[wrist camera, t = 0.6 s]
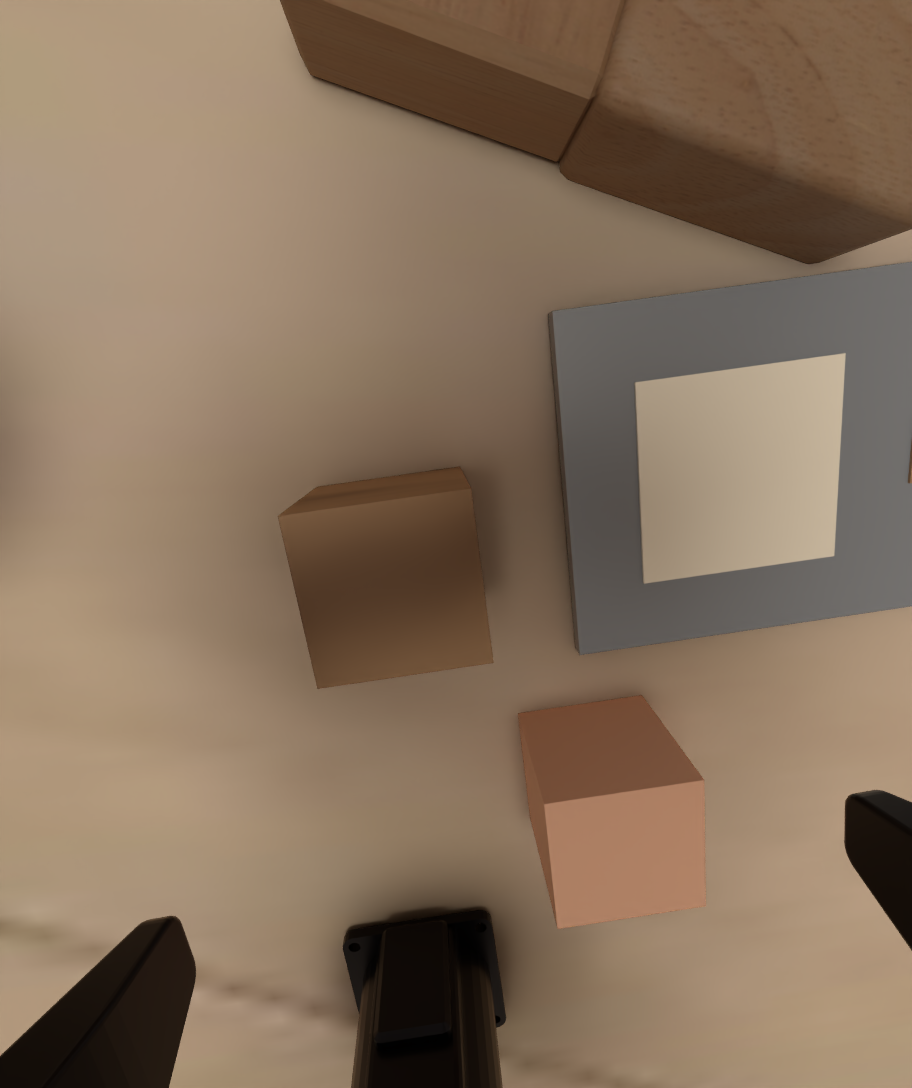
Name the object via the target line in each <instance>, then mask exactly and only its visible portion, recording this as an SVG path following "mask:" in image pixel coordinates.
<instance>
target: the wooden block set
mask: <svg viewBox="0 0 912 1088" xmlns="http://www.w3.org/2000/svg"><path fill="white" fill-rule="evenodd" d="M280 2H281V5H282V7H283V10H284V13H285V15H286V18H287V21H288V23H289V26H290V29H291V31H292V34H293V37H294V39H295V42H296V45H297V47H298V50H299V53H300V55H301V57H302V59H303V61H304V63H305V65H306V67H307V69H308V71H309V72H310V74H311V75H313V76H316V77H318V78H321V79H324V80H327V81H330V82H333V83H335V84H338V85H341V86H344V87H347V88H350V89H352V90H355V91H358V92H361V93H364V94H366V95H369V96H372V97H375V98H378V99H381V100H383V101H386V102H389V103H392V104H395V105H398V106H400V107H403V108H406V109H409V110H412V111H415V112H417V113H420V114H423V115H426V116H429V117H431V118H434V119H437V120H440V121H443V122H446V123H448V124H451V125H454V126H457V127H460V128H463V129H465V130H468V131H471V132H474V133H477V134H479V135H482V136H485V137H488V138H491V139H494V140H496V141H499V142H502V143H505V144H508V145H511V146H513V147H516V148H519V149H522V150H525V151H527V152H530V153H533V154H536V155H539V156H542V157H544V158H547V159H550V160H553V161H556V162H557V161H559V163H560V172H561V173H562V174H563V175H564V176H565V177H566V178H567V179H568V180H571V181H574V182H576V183H579V184H582V185H585V186H588V187H591V188H594V189H596V190H599V191H602V192H605V193H608V194H611V195H614V196H616V197H619V198H622V199H625V200H628V201H631V202H633V203H636V204H639V205H642V206H645V207H648V208H651V209H653V210H656V211H659V212H662V213H665V214H668V215H671V216H673V217H676V218H679V219H682V220H685V221H688V222H690V223H693V224H696V225H699V226H702V227H705V228H708V229H710V230H713V231H716V232H719V233H722V234H725V235H728V236H730V237H733V238H736V239H739V240H742V241H745V242H747V243H750V244H753V245H756V246H759V247H762V248H765V249H767V250H770V251H773V252H776V253H779V254H782V255H785V256H787V257H790V258H793V259H796V260H799V261H802V262H804V263H807V264H811V263H819V262H822V261H825V260H827V259H830V258H833V257H836V256H838V255H841V254H844V253H847V252H850V251H852V250H855V249H858V248H861V247H863V246H866V245H869V244H872V243H874V242H877V241H880V240H883V239H886V238H888V237H891V236H894V235H897V234H899V233H902V232H905V231H908V230H910V229H912V0H280Z"/></svg>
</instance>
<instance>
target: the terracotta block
mask: <svg viewBox="0 0 912 1088" xmlns="http://www.w3.org/2000/svg"><path fill="white" fill-rule="evenodd" d="M518 719H519V728H520V736H521V745H522V753H523V762H524V770H525V779H526V787H527V796H528V804H529V813H530V819H531V823H532V827H533V831H534V835H535V839H536V843H537V847H538V851H539V855H540V859H541V864H542V868H543V872H544V876H545V880H546V884H547V888H548V892H549V896H550V900H551V904H552V908H553V912H554V916H555V920H556V924H557V928H558V929H561V928H567V927H574V926H580V925H587V924H593V923H600V922H606V921H613V920H619V919H626V918H632V917H639V916H645V915H652V914H658V913H665V912H671V911H678V910H684V909H691V908H697V907H704V906H706V880H705V800H704V779H703V778H702V776H701V775H700V774H699V772H698V771H697V770H696V768H695V767H694V765H693V764H692V763H691V761H690V760H689V759H688V757H687V756H686V755H685V753H684V752H683V751H682V749H681V748H680V746H679V745H678V744H677V742H676V741H675V740H674V738H673V737H672V736H671V734H670V733H669V731H668V730H667V729H666V727H665V726H664V725H663V723H662V722H661V721H660V719H659V718H658V717H657V715H656V714H655V712H654V711H653V710H652V708H651V707H650V706H649V704H648V703H647V702H646V700H645V699H644V697H643V696H642V695H639V696H632V697H625V698H618V699H612V700H605V701H598V702H591V703H585V704H578V705H571V706H564V707H558V708H551V709H544V710H537V711H531V712H524V713H518Z"/></svg>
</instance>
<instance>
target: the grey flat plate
mask: <svg viewBox="0 0 912 1088" xmlns="http://www.w3.org/2000/svg"><path fill="white" fill-rule="evenodd" d="M548 318H549V330H550V343H551V355H552V367H553V379H554V391H555V403H556V416H557V428H558V440H559V452H560V464H561V477H562V489H563V501H564V513H565V525H566V538H567V550H568V562H569V574H570V586H571V599H572V611H573V623H574V635H575V647H576V649H577V651H578V653H579V654H580V655H584V654H591V653H597V652H604V651H611V650H618V649H625V648H631V647H638V646H645V645H652V644H659V643H665V642H672V641H679V640H686V639H693V638H699V637H706V636H713V635H720V634H727V633H733V632H740V631H747V630H754V629H761V628H768V627H774V626H781V625H788V624H795V623H802V622H808V621H815V620H822V619H829V618H836V617H842V616H849V615H856V614H863V613H870V612H876V611H883V610H890V609H897V608H904V607H910V606H912V262H907V263H900V264H893V265H885V266H878V267H871V268H864V269H856V270H849V271H842V272H834V273H827V274H820V275H813V276H805V277H798V278H791V279H783V280H776V281H769V282H761V283H754V284H747V285H740V286H732V287H725V288H718V289H710V290H703V291H696V292H688V293H681V294H674V295H667V296H659V297H652V298H645V299H637V300H630V301H623V302H616V303H608V304H601V305H594V306H586V307H579V308H572V309H564V310H557V311H552V312H551V313H549V314H548Z"/></svg>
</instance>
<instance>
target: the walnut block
mask: <svg viewBox="0 0 912 1088" xmlns="http://www.w3.org/2000/svg"><path fill="white" fill-rule="evenodd" d="M278 519H279V523H280V528H281V532H282V537H283V541H284V545H285V550H286V554H287V558H288V563H289V567H290V571H291V576H292V580H293V584H294V589H295V593H296V597H297V602H298V606H299V610H300V615H301V619H302V623H303V628H304V632H305V637H306V641H307V645H308V650H309V654H310V658H311V663H312V667H313V671H314V676H315V680H316V684H317V689H320V688H327V687H333V686H340V685H347V684H354V683H360V682H367V681H374V680H381V679H387V678H394V677H401V676H408V675H414V674H421V673H428V672H435V671H441V670H448V669H455V668H462V667H468V666H475V665H482V664H489V663H494V662H493V654H492V647H491V639H490V631H489V623H488V616H487V608H486V600H485V592H484V585H483V577H482V569H481V561H480V554H479V546H478V538H477V530H476V522H475V515H474V507H473V499H472V491H471V487H470V485H469V483H468V481H467V480H466V478H465V476H464V474H463V472H462V470H461V468H460V467H453V468H446V469H439V470H432V471H425V472H418V473H411V474H404V475H397V476H390V477H383V478H376V479H369V480H362V481H355V482H348V483H341V484H334V485H327V486H320V487H316V488H315V489H313V490H312V491H311V492H309V493H308V494H307V495H305V496H304V497H303V498H301V499H300V500H299V501H297V502H296V503H295V504H293V505H292V506H291V507H289V508H288V509H287V510H285V511H284V512H283V513H281V514H280V515H279V516H278Z"/></svg>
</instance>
